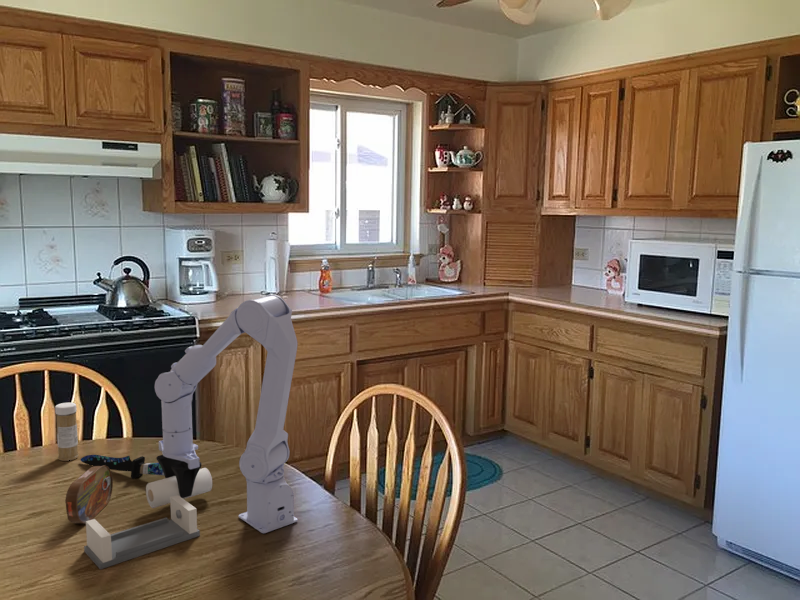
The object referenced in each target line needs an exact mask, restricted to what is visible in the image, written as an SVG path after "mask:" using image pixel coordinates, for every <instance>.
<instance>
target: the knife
mask: <svg viewBox="0 0 800 600" xmlns="http://www.w3.org/2000/svg"><path fill="white" fill-rule="evenodd" d="M145 461H146V457H145V456H143V455H141V456H140V457H137V458H134V459H133V460H132V459H131V456H130V455H127V456H123V457H115V456H114V457H112V456H106V455H101V454H88V455H85V456H82V457H81V458H80V462H82V463H84V464H85V465H88V464H89V465H88V466H91V465H93V466H92V467H94V466H103V465H106V466H108V467H109V469H110V471H121V472H130V479H132V480H134V479H136V478H139V477H141V476H143V475H152V476H154V475H155V476H164V477H165V475H164V472H163V470H162V468H161V466H160V464H159V462H145Z"/></svg>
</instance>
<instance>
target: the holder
mask: <svg viewBox="0 0 800 600" xmlns="http://www.w3.org/2000/svg"><path fill="white" fill-rule="evenodd" d="M169 504H170V519H169V518H168V517H167V516H166V517H163V518H159V519H157V520H154V521H150V522H146V523H144V524H140V525H137V526H134V527H133V526H132V527H131V528H127V529H123V530H121V531H118V532H115V533H110V532H109V531H107V529H106V528H105V527H103V526H102V524H100V522H99V521H97V519H96V518H93V519H92V520H89V521H86V524H85V531H86V532H85V533H86V545H85V546H84V547H83V550H84V553H85V554H86V555H87V556H88V558H89V559H90V560H91V561H92V562H93V563H94V564H95V566H96V567H98V569H99V570H103V569H106V568H109V567H112V566H115V565H118V564H120V563H123V562H127V561H129V560H132V559H136V558H138V557H141V556H143V555H144V556H145V555H148V554H150V553H153V552H156V551H158V550H163V549H165V548H168V547H171V546H173V545H177V544H179V543H183V542H186V541H189V540H192V539H194V538H198V537H200V535H201V532H200V529H198V515H197V514H198V513H197V511H198V510H197V508H196V507H195V506H193V505H192V504H191V503H190V502H188V501H187V500H186V499H183V498H181V497H180V496H179V495H175V496H172V497H170V503H169Z"/></svg>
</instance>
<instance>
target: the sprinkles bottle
mask: <svg viewBox="0 0 800 600" xmlns="http://www.w3.org/2000/svg"><path fill="white" fill-rule="evenodd" d="M54 410H55V413H54V414H55V417H56V431H57V432H56V433H57V434H56V438H57V448H58V451H57V452H58V457H57V459H58V460H59V461H65V462H67V461H68V462H69V460H70V461H73V460H76V459H77V458H79V455H80V454H79V446H78V445H79V441H78V436H79V435H78V423H77V404H76V403H75V402H72V401H71V402H62V403H58V404H56V405H55V406H54Z"/></svg>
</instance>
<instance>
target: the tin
mask: <svg viewBox="0 0 800 600" xmlns="http://www.w3.org/2000/svg"><path fill="white" fill-rule="evenodd" d="M113 481H114V480H113V473H112V470H110V469H109V467H108V466H106V465H103V466H91V467H90V468H88V469H87V470H85V472H83V473H82V474H81V475H80V476H79V477H78V478H77V479H75V480H74V481H73V482H72V483H71V484H70V485H69V487H68V489H67V492H66V494H65V495H66V496H65V501H64V502H65V511H66V515H67V516H66V517H67V520H68V521H69V522H70V523H72V524H85V525H86V521H89V520H92V519H95V517H96V516H97V515H98V514H99V513H100V512H101V511H102V510H103V509H104V508H105V507H106V506H108V504H109V502H110V500H111V497H112V493H113V488H114V487H113V484H114V482H113Z"/></svg>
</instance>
